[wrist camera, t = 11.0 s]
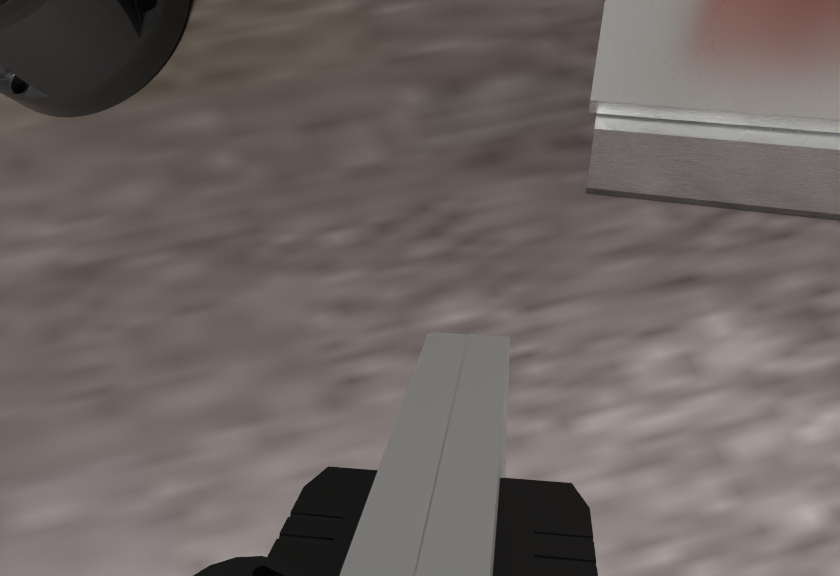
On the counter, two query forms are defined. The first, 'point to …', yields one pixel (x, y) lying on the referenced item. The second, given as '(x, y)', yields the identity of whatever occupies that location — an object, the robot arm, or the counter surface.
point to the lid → (721, 62)
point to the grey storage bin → (717, 165)
